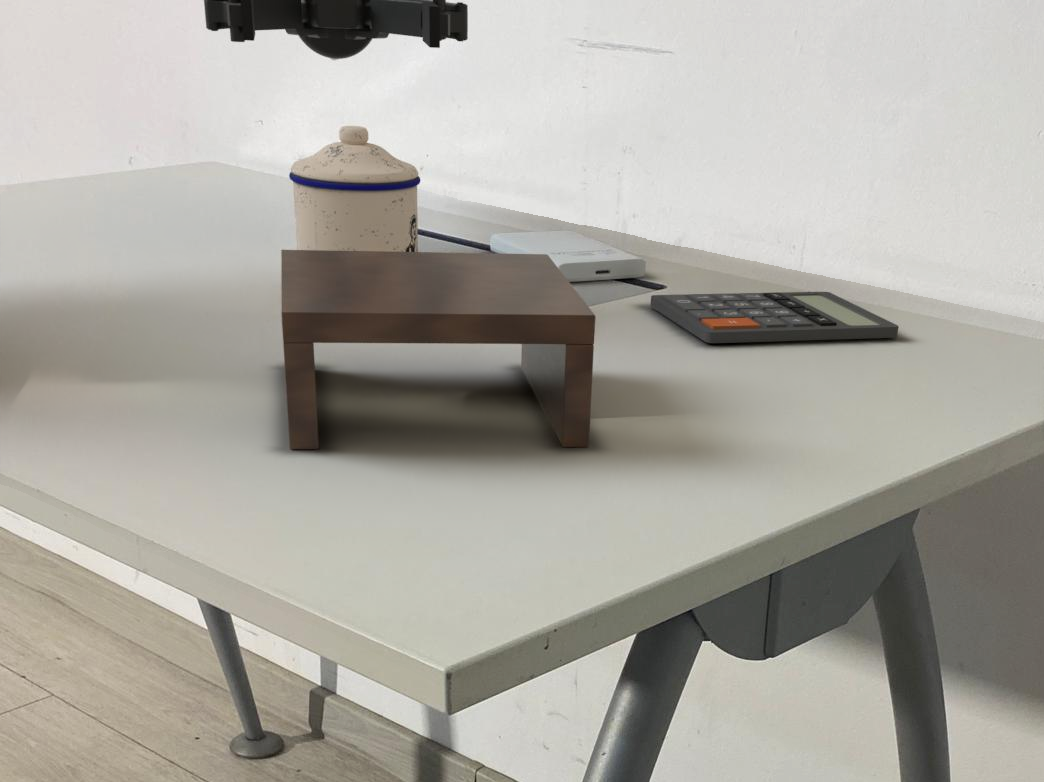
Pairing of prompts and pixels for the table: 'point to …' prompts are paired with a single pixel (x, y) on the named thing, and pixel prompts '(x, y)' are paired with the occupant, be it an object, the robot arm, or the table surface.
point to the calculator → (771, 317)
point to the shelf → (439, 321)
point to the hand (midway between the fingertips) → (342, 23)
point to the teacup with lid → (355, 198)
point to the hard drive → (572, 254)
